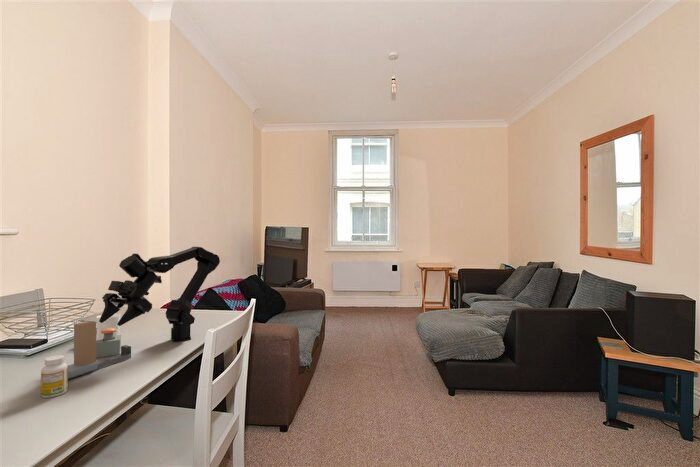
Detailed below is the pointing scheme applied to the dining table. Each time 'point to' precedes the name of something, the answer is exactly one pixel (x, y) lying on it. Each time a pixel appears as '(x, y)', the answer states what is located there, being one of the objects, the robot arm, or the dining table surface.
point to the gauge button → (108, 333)
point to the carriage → (84, 349)
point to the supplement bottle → (54, 377)
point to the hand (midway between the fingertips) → (109, 323)
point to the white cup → (108, 324)
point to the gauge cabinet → (108, 346)
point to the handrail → (113, 359)
